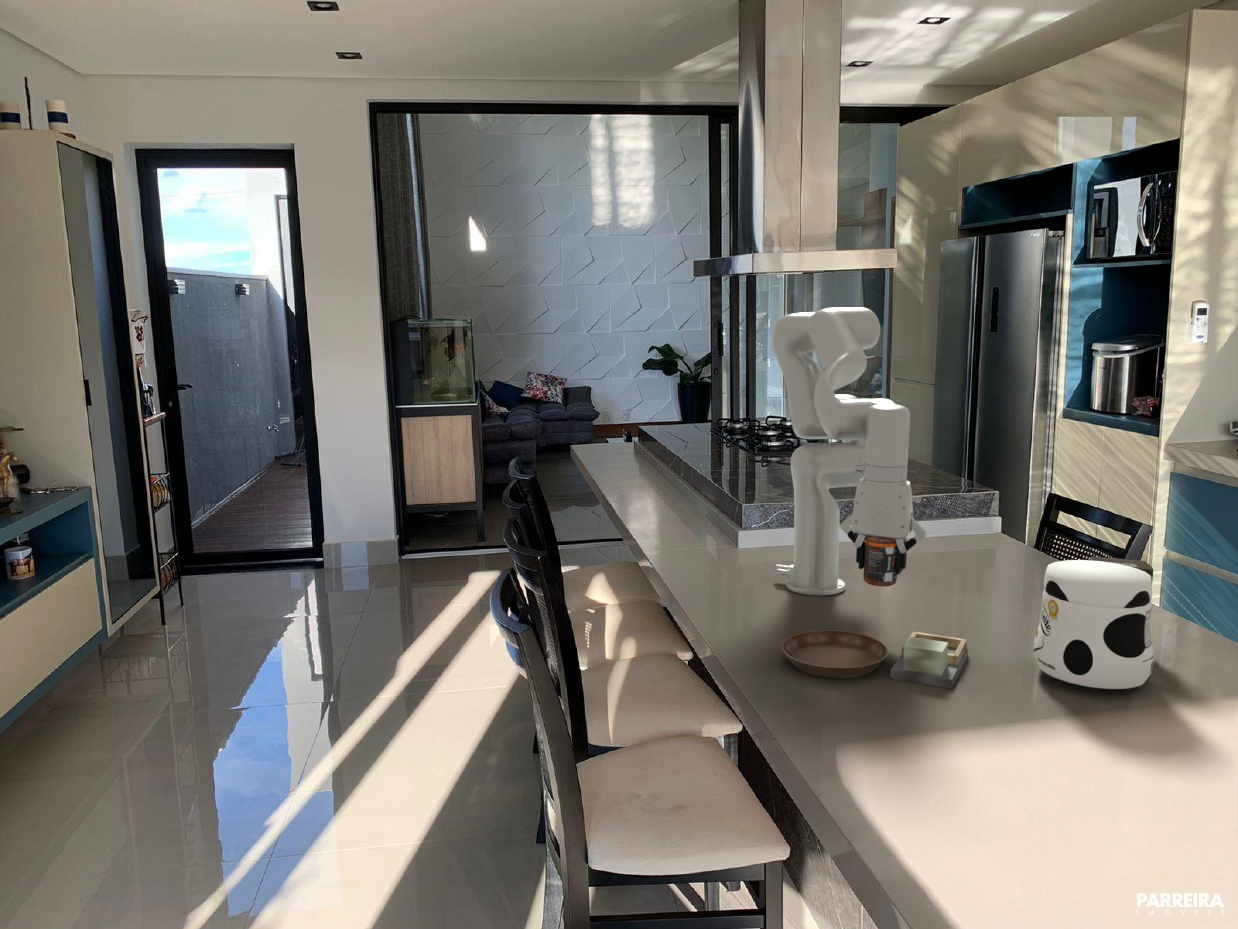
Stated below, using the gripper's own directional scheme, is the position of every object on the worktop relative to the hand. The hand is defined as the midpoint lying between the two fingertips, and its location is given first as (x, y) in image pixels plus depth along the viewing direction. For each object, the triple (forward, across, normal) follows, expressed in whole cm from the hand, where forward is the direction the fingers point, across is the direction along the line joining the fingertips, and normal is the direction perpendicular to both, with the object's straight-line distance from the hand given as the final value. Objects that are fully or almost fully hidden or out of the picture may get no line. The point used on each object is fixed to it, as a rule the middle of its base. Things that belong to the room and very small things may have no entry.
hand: (880, 568), depth 173 cm
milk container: (+12, +36, -6) cm, 38 cm away
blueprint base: (+12, +12, -12) cm, 21 cm away
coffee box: (+12, +39, +10) cm, 42 cm away
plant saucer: (+13, -3, -17) cm, 22 cm away
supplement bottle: (+3, 0, 0) cm, 3 cm away
